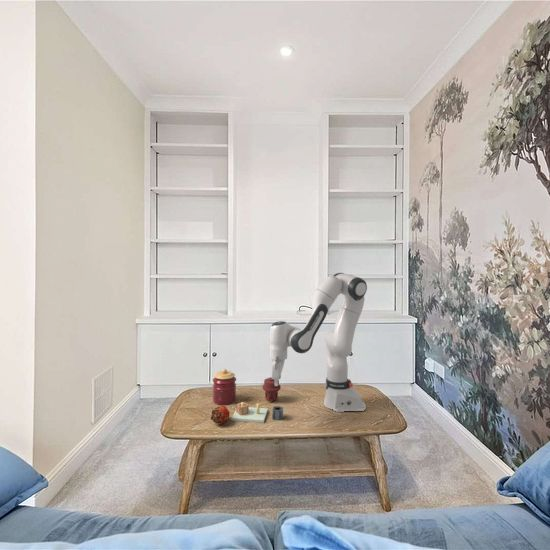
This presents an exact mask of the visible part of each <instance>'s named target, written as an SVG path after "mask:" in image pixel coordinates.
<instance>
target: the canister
mask: <svg viewBox="0 0 550 550" xmlns="http://www.w3.org/2000/svg"><path fill="white" fill-rule="evenodd" d="M235 376H236V375H235V373H234V372H232V371H230V370H227V369H226V368H223V369H222V370H220V371H217V372H216V373H215V374H214V377H213V379H212V383H213V384H212V402H213V403H214V404H216V405H219V406H221V405H223V406H225V405H226V406H227V405H230V404H232V403H234V402H235V401H236V399H237V392H236V390H237V383H236V381H237V378H236V377H235Z"/></svg>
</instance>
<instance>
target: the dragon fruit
mask: <svg viewBox="0 0 550 550" xmlns="http://www.w3.org/2000/svg"><path fill="white" fill-rule="evenodd" d="M229 417H230V411H229V409H228V408H227V406H225V405H219V406H216V407H215V408H214V409H213V410H212V411H211V417H210V420H212V421H213V423H215V424H218V425H221V424H223V423H227V422H228V419H229Z"/></svg>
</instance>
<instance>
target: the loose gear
mask: <svg viewBox="0 0 550 550" xmlns="http://www.w3.org/2000/svg"><path fill="white" fill-rule="evenodd" d="M271 410H272V413H271V414H272V415H271V419H272V420H275V421H276V420H277V421H282V420H283V418H284V407H283V406H279V405H278V406H276V405H275V406H274V405H273V407H272V409H271Z"/></svg>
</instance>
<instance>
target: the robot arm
mask: <svg viewBox="0 0 550 550" xmlns="http://www.w3.org/2000/svg"><path fill="white" fill-rule="evenodd" d="M367 291H368V285H367V281H365V279H363V278H361V277H358V276H356V275H353V274H347V273H344V272H336V273H334V274H333V275H328V276H327V277H326V278H325V279H324V280H323V281H322V282H321V283H320V284H319V285H318V286H317V288H316V289H315V290H314V292H313V294H312V295H311V298H310V301H309V303H310V306H311V310H312V311H311V315H310V317H309V318H308V320H307V322H306V324H305V325H304V327H303V328H302V329H301V328H299V327H296V326H293V325H291V324H289V323H288V322H286V321H284V320H281V321H280V320H279V321H276V322H274V323H272V324H271V325H270V326H271V327H270V331H269V342H270V345H269V359H270V360H271V362H272V365H271V377H272V379H274V382H275V386H278V384H279V385H280V380H281V378H282V372H283V369H284V365H285V360H288V359H287V358H288V349H289V348H288V347H291V348H292V350H293V351H294V352H295V353H296V354H305V353H307V352H309V350H310V349H311V348H312V346H313V343H314V339H315V336H317V335H316V334H317V333H318V331H319V330H320V328H321V326H322V324H323V323H324V320H325V319H326V318H327V315H328V313H329V310H331V307H332V306H333V304H334V303H335V301H336V300H337V298H338V296H340V295H343V297H344V299H343V301H342V304H341V305H340V307H339V311H338V313H337V316H336V319H335V325H334V330H332V331H329V332H328V333H327V334H326V336H325V340H324V341H325V355H326V356H325V357H326V378H325V395H324V400H323V403H322V404H323V406H325V408H328V409H329V410H332V409H333V410H332V411H334V412H335V411H336V412H335V413H345V412H344V411H364V410H365V409H366V410H367V406H366V403H365V401H364V400H363V399H362V396H361V394H360V392H359V390H356V389H355V387H354V384H353V382H352V381H351V379H350V378H348V375H349V373H348V370H349V369H348V368H349V365H348V361H347V357H349V356H350V355H351V353H352V349H353V348H352V346H353V341H354V337H355V332H356V328H357V325H358V321H359V320H360V317H361V314H362V311H363V308H364V304H365V296H366V293H367ZM278 381H279V382H278ZM366 410H365V411H366ZM365 411H364V412H365Z"/></svg>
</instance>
